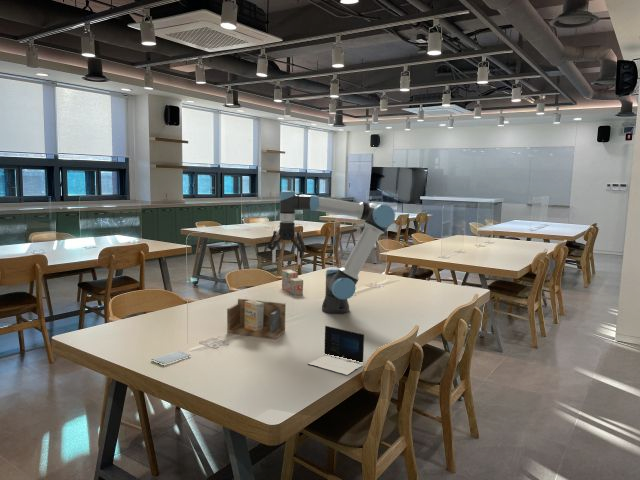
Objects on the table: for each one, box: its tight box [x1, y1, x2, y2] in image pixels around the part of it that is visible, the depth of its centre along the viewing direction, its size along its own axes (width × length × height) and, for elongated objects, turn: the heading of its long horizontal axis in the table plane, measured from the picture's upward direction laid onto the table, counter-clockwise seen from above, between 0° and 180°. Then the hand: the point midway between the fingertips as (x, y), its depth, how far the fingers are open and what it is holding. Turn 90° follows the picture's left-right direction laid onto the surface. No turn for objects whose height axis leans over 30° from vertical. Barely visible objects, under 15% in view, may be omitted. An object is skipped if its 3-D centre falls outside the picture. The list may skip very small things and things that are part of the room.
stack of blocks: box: [281, 268, 304, 296], centre depth 303 cm, size 21×6×12 cm, turn 25°
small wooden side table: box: [226, 298, 286, 340], centre depth 221 cm, size 24×12×14 cm, turn 73°
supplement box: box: [244, 299, 264, 332], centre depth 220 cm, size 8×5×13 cm, turn 52°
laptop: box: [324, 325, 365, 363], centre depth 184 cm, size 18×12×13 cm
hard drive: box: [151, 350, 192, 364], centre depth 186 cm, size 2×8×12 cm
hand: (286, 263), depth 240 cm, fingers open, 13 cm apart
